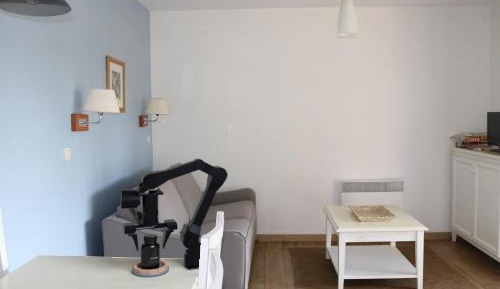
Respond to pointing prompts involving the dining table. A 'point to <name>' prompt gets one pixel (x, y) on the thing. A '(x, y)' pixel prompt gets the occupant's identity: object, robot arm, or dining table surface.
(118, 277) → the dining table surface
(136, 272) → the bottle holder
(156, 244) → the supplement bottle
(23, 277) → the dining table surface
